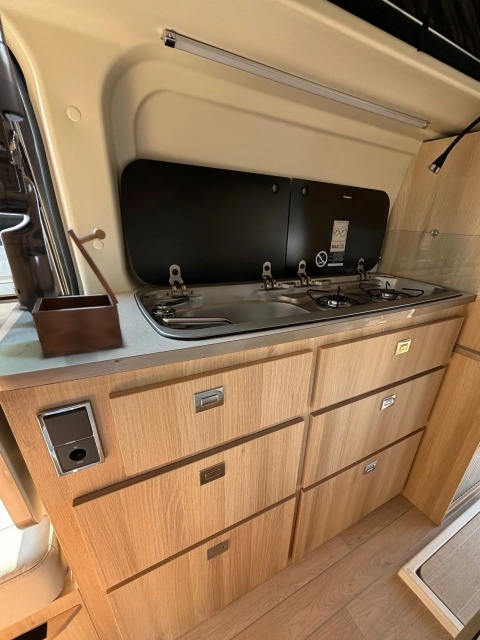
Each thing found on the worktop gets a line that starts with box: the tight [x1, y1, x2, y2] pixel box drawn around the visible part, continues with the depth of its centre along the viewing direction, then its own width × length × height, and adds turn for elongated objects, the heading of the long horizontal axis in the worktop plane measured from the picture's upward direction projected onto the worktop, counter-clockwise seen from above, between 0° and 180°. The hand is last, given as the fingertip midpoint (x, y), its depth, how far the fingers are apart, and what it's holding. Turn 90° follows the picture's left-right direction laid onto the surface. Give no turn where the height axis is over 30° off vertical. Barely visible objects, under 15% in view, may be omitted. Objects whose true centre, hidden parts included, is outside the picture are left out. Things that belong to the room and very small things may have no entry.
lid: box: [67, 226, 119, 305], centre depth 58 cm, size 14×12×5 cm
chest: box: [31, 293, 124, 359], centre depth 60 cm, size 14×12×9 cm
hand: (16, 192), depth 53 cm, fingers open, 8 cm apart
